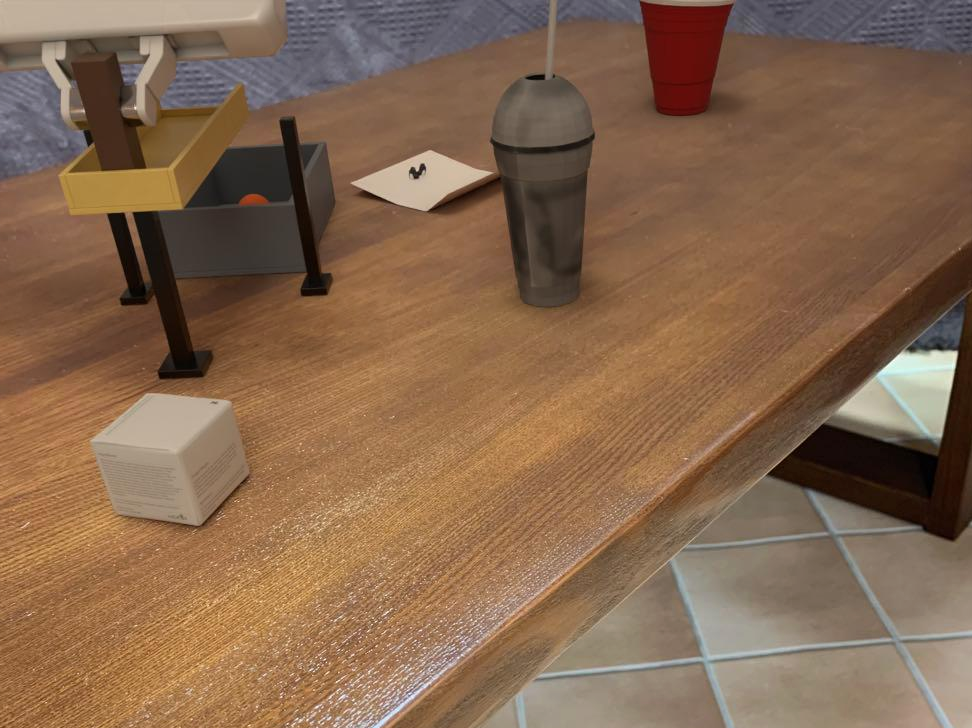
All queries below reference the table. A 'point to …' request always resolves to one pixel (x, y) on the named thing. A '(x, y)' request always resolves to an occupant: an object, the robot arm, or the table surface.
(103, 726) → the table surface
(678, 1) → the plastic cup
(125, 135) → the trough
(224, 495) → the small box
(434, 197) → the folded paper
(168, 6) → the robot arm
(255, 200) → the toy ball
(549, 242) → the beverage cup
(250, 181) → the bin
